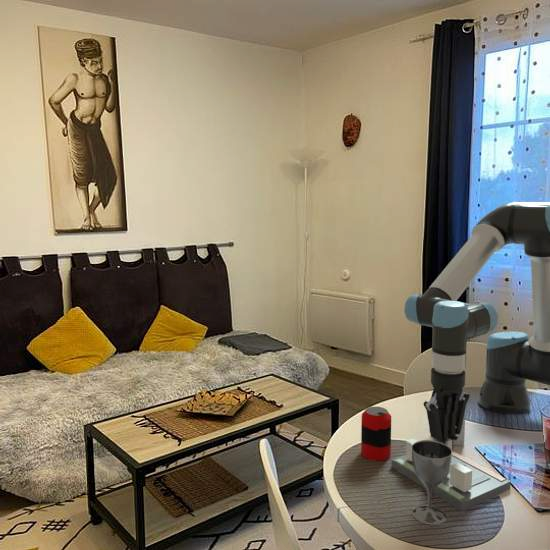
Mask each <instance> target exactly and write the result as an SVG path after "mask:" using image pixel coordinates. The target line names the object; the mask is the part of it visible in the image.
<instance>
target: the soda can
mask: <svg viewBox="0 0 550 550" xmlns="http://www.w3.org/2000/svg"><path fill="white" fill-rule="evenodd" d="M360 426H361V427H360V428H361V431H360V433H361V435H360V436H361V437H360V439H361V440H360V444H361V446H360V452H361V455H362V456H363V458H365V459H366V458H367V460H369V459H370V460H369V461H372V460H375V461H374V462H383V461H386V460H388V459H389V458H390V457H391V454H392V453H391V451H392V449H391V448H392V415H391V413H390V412H389V411H388V409H386V408H385V407H383V406H369V407H366V409H365V410H364V411H363V412H362V413H361V425H360Z"/></svg>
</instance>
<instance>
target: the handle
mask: <svg viewBox="0 0 550 550" xmlns="http://www.w3.org/2000/svg"><path fill="white" fill-rule="evenodd" d="M418 441H419V440H416V439H415V438H411V439H408V440H406V441H405V443H406V444H405V455H406V458H407V459H408V460H410V461H412V446H413V444H414V443H416V442H418Z"/></svg>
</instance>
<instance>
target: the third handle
mask: <svg viewBox="0 0 550 550" xmlns="http://www.w3.org/2000/svg"><path fill="white" fill-rule="evenodd" d="M450 484H451V485H452V486H454V487H456V488H457V489H459V490H461V491H463V492H466V491H468V490H471V488H472V470H471V469H469V468H467V467H465V466H463V465H461V464H460V463H456V464H453V465H451V466H450Z"/></svg>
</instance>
